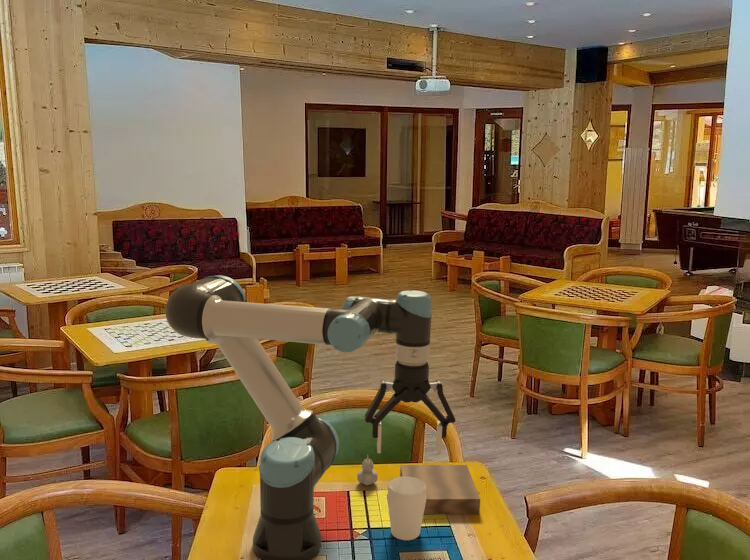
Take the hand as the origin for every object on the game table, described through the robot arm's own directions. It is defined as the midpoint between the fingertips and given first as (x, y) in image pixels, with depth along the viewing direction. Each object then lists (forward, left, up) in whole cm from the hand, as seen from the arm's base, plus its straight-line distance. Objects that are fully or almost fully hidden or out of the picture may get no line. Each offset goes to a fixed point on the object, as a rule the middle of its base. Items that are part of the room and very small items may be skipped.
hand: (408, 450), depth 154 cm
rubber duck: (-8, +23, -21) cm, 32 cm away
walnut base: (+10, +17, -20) cm, 28 cm away
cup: (0, 0, -21) cm, 21 cm away
